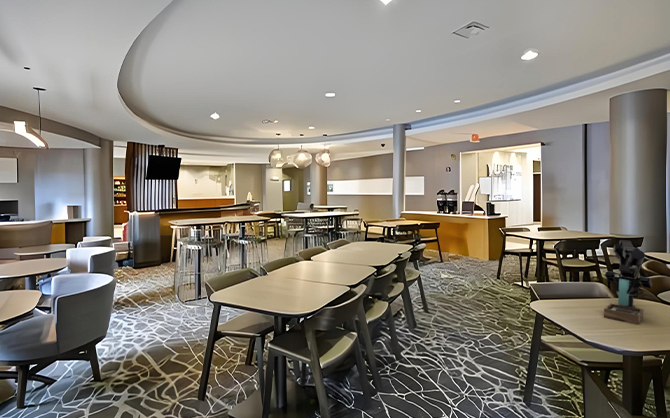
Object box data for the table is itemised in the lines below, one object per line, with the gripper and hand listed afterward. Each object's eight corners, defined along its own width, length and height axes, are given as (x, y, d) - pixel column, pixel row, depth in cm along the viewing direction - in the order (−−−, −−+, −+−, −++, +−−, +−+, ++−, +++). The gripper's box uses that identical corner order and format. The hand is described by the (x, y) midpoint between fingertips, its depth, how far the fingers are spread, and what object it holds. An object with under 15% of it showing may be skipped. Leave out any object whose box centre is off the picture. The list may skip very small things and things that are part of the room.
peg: (619, 302, 183) (620, 278, 182) (629, 304, 180) (629, 279, 179) (617, 304, 180) (618, 279, 180) (627, 306, 177) (628, 281, 177)
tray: (610, 311, 190) (610, 303, 190) (643, 318, 179) (643, 309, 179) (603, 317, 181) (604, 308, 181) (638, 324, 171) (638, 315, 170)
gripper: (606, 256, 189) (596, 279, 184) (651, 262, 173) (641, 287, 168) (612, 269, 193) (603, 291, 188) (656, 275, 177) (647, 300, 172)
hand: (622, 292), depth 179 cm, fingers closed on peg, 4 cm apart
